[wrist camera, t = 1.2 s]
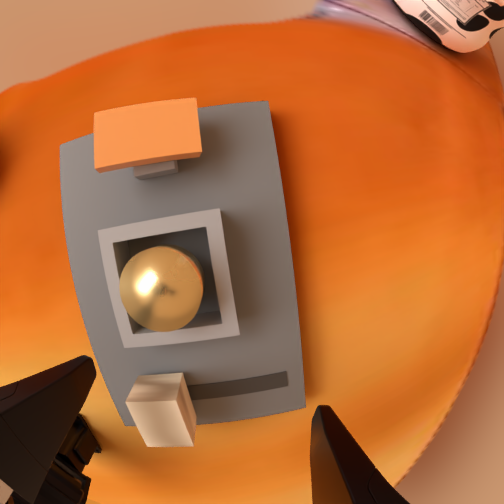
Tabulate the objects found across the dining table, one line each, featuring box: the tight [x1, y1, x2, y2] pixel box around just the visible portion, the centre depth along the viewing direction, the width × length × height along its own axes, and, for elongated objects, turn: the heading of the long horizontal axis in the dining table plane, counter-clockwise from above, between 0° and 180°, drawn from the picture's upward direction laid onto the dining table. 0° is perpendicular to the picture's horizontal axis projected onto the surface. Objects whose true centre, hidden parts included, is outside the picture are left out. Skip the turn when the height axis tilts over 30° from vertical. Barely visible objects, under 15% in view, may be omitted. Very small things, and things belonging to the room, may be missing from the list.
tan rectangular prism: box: [125, 373, 197, 447], centre depth 18 cm, size 4×5×4 cm
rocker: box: [94, 98, 202, 173], centre depth 16 cm, size 7×4×1 cm, turn 98°
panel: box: [60, 101, 306, 426], centre depth 20 cm, size 18×27×5 cm, turn 8°
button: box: [119, 244, 205, 332], centre depth 16 cm, size 5×5×3 cm
